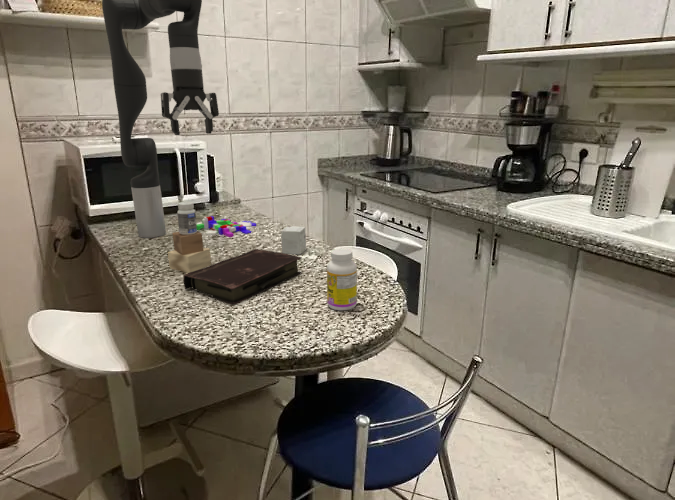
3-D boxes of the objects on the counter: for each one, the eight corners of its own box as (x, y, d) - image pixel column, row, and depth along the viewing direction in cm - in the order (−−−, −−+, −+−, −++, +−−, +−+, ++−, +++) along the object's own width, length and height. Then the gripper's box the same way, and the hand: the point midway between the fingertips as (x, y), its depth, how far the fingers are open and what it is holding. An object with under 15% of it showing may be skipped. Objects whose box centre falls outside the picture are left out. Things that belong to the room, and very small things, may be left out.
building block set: (269, 231, 167) (268, 219, 166) (216, 241, 154) (215, 228, 153) (236, 218, 185) (235, 208, 184) (187, 227, 173) (186, 215, 171)
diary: (183, 291, 113) (181, 272, 112) (255, 263, 133) (253, 247, 132) (236, 307, 103) (234, 287, 102) (305, 275, 123) (304, 257, 121)
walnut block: (174, 249, 128) (172, 232, 126) (195, 245, 131) (193, 229, 130) (182, 255, 123) (180, 237, 122) (203, 250, 127) (201, 233, 125)
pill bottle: (192, 235, 123) (189, 205, 121) (176, 234, 124) (173, 204, 122) (200, 231, 128) (197, 201, 125) (184, 230, 129) (181, 200, 126)
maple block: (169, 269, 127) (167, 252, 126) (191, 261, 134) (189, 244, 133) (190, 274, 124) (188, 256, 122) (211, 265, 130) (209, 248, 129)
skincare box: (300, 255, 138) (299, 231, 136) (281, 253, 139) (280, 230, 137) (306, 249, 144) (305, 226, 141) (288, 247, 145) (287, 225, 143)
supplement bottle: (326, 300, 106) (325, 247, 102) (354, 298, 106) (354, 246, 102) (328, 312, 99) (327, 256, 96) (358, 311, 100) (358, 255, 96)
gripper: (207, 70, 122) (213, 132, 127) (153, 68, 114) (161, 134, 119) (219, 68, 117) (224, 133, 121) (162, 66, 108) (170, 136, 113)
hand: (193, 134), depth 120 cm, fingers open, 8 cm apart
